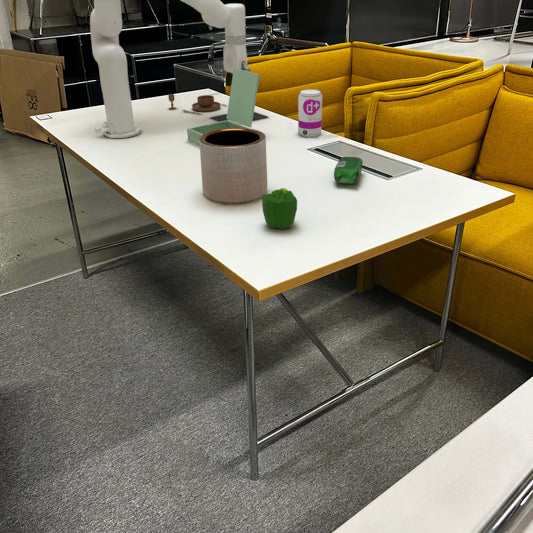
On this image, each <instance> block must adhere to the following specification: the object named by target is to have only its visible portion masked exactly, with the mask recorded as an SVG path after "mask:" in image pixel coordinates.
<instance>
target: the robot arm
mask: <svg viewBox="0 0 533 533" xmlns="http://www.w3.org/2000/svg"><path fill="white" fill-rule="evenodd" d="M180 1H181V2H183V3H184V4H186V5H188V6H190V7H191V8H193V9H194V10H195V11H197V12H198V13H200V15H201V18H202V21H203V22H204V23H205V24H206V25H208V26H210V27H213V28H217V29H224V41H225V43H224V49H223V61H222V67H223V71H224V76H225V87H231V85H232V78H233V71H234V68H236V69H240V70H244V71H248V72H251V67H250V66H249V65H248V52H247V46H246V42H247V41H246V7H245V5H244V4H243V3H226V4H224V3H223V2H222V1H221V0H180ZM121 2H122V1H121V0H93V6H94V7H93V9H92V10H91V13H90V15H89V16H90V17H89V25H90V26H89V30H90V40H91V50H92V57H93V58H94V61H95V62H96V63H97V65H98V71H99V80H100V87H101V92H102V99H103V104H104V105H103V106H104V110H105V118H106V121H104V124H102V125H98V126H94V131H95V133H100V132H101V134H103V133H104V136H105V137H107V138H111V139H125V138H126V139H127V138H131V137H134V136H137V135H139V134H140V131H141V130H140V128H139V127H137V126H136V125H135V119H134V118H135V117H134V111H133V104H132V96H131V89H130V82H129V74H128V60H127V59H128V58H127V55H126V53H125V51H124V48H123V47H122V46H121V45H120V40H119V39H120V38H119V36H120V33H121V32H122V29H123V17H122V3H121Z"/></svg>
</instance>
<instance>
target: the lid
mask: <svg viewBox="0 0 533 533" xmlns="http://www.w3.org/2000/svg"><path fill="white" fill-rule="evenodd" d="M232 75H233V78H232V85H231V86H230V92H229V98H228V105H227V112H226V114H227V118H226V119H228V121H231V122H233V123H236V124H239V125H241V126H244V127H247V128H249V129H252V125H253V121H252V120H253V114H254V112H255V108H256V101H257V95H258V89H259V84H260V76H261V74H260V73H255V72H251V71H250V72H248V71H244V70H240V69H236V68H234V71H233V73H232Z"/></svg>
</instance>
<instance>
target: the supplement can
mask: <svg viewBox="0 0 533 533" xmlns="http://www.w3.org/2000/svg"><path fill="white" fill-rule="evenodd" d="M297 98H298V101H297V102H298V105H297V106H298V108H297V110H298V111H297V116H298V117H297V133H298V134H299V136H301V137H304V138H315V137H319V136H320V135H321V134H322V123H323V120H322V118H323V114H322V113H323V94H322V92H321V90H319V89H315V88H313V89H311V88H310V89H309V88H308V89H301V90H300V92H299V94H298V97H297Z"/></svg>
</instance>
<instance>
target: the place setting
mask: <svg viewBox="0 0 533 533" xmlns="http://www.w3.org/2000/svg"><path fill="white" fill-rule="evenodd" d="M167 96H168V101H169V102H170V106H171V107H169V108H168V109H169V110H172V111H173V110H176V108H177V107H174V102H175V94H174V93H169V94H168V95H167ZM196 100H197V101H196V102H194V103H192V104H191V108H192V110H194V111H196V112H194V111H190V113H192V114H197V115H200V112H203V113H204V112H205V113H208V112H214V111H217V110H219V109H220V107H221V105H222V106H225V107H226V106H227V105H226V104H224V103H220V102H218V101H215V96H214V95H212V94H211V95H210V94H206V95H205V94H203V95H199V96H197V97H196ZM181 111H182V112H184V113H189V111H188V110H186V109H181Z"/></svg>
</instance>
